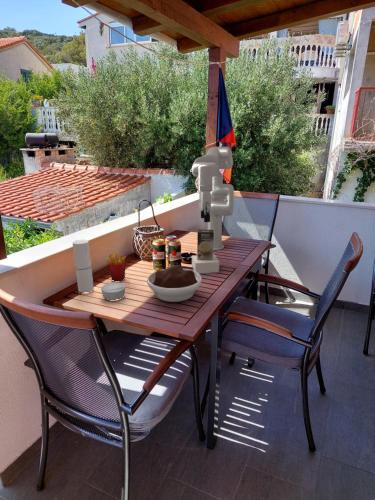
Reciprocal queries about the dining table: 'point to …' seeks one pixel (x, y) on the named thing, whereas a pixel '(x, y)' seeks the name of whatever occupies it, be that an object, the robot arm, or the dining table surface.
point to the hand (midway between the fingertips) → (205, 220)
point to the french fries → (117, 267)
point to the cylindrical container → (83, 265)
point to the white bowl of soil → (174, 283)
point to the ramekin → (113, 290)
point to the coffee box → (205, 244)
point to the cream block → (205, 265)
